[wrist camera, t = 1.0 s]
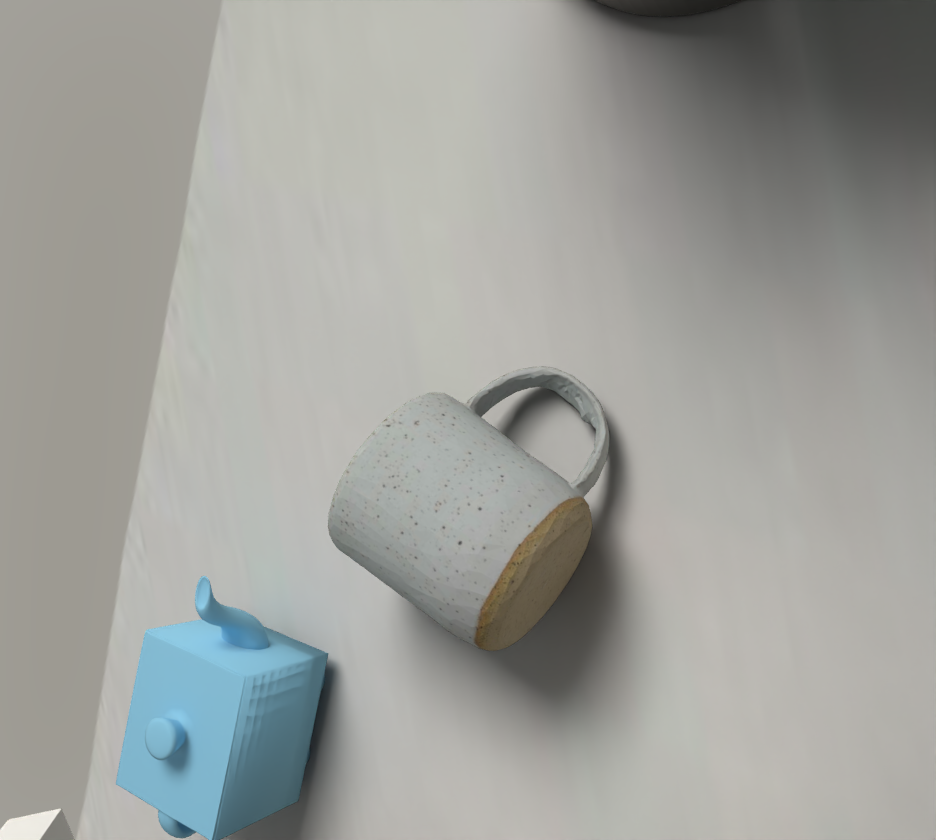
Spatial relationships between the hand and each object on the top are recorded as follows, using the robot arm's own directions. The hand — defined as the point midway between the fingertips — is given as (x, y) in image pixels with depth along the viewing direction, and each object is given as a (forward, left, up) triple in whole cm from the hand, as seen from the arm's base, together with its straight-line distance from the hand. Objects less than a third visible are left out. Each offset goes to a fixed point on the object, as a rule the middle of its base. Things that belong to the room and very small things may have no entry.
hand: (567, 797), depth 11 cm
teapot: (+12, -22, -24) cm, 35 cm away
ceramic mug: (-1, -12, -24) cm, 27 cm away
